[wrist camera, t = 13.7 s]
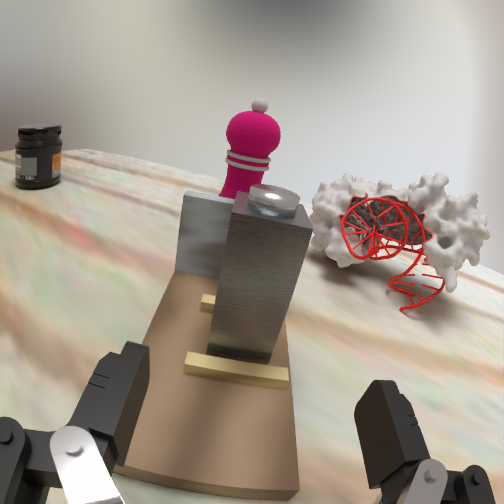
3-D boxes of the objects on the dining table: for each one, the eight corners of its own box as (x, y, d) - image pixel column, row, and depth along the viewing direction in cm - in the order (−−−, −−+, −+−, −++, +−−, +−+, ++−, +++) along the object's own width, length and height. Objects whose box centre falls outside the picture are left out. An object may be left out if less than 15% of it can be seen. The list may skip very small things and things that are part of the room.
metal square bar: (205, 357, 21) (235, 194, 16) (213, 319, 25) (240, 176, 20) (266, 368, 21) (318, 212, 16) (266, 329, 26) (306, 190, 20)
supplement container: (67, 177, 57) (70, 122, 52) (49, 191, 48) (51, 128, 43) (28, 175, 54) (30, 123, 49) (6, 189, 45) (7, 129, 40)
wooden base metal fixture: (104, 468, 13) (62, 362, 9) (176, 280, 33) (187, 190, 28) (288, 500, 14) (368, 416, 9) (276, 299, 34) (301, 213, 29)
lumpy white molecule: (344, 363, 37) (508, 299, 30) (300, 240, 29) (509, 167, 23) (327, 280, 54) (451, 237, 48) (292, 185, 47) (434, 138, 41)
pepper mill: (245, 281, 36) (286, 102, 27) (189, 261, 37) (218, 89, 28) (262, 257, 42) (298, 108, 33) (213, 241, 43) (241, 96, 35)
